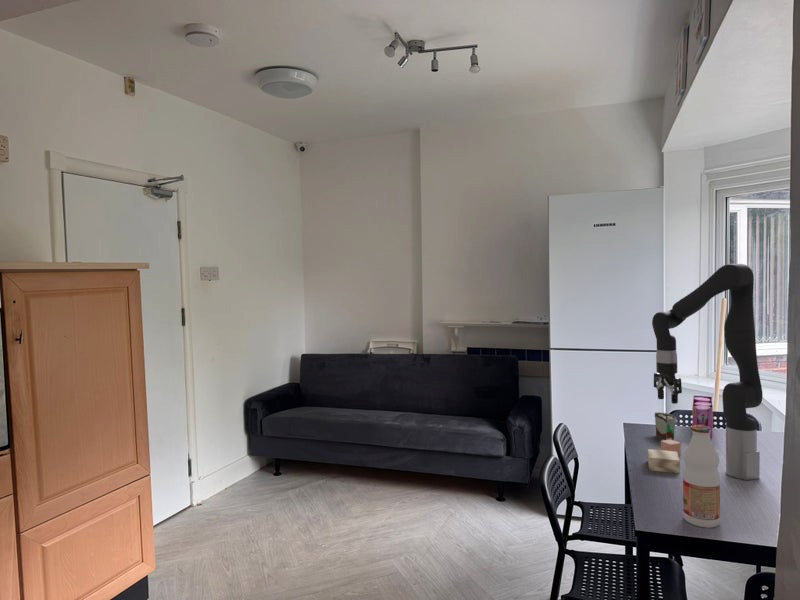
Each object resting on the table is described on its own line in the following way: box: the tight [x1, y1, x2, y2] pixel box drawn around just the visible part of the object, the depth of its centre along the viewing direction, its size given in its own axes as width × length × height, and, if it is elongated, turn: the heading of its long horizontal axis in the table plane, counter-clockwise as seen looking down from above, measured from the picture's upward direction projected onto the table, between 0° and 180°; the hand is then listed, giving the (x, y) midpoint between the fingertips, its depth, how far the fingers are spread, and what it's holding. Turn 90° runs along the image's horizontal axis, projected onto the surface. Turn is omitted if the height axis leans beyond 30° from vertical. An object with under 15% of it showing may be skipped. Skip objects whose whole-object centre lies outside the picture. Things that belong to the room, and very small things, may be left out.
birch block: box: [647, 448, 681, 474], centre depth 198 cm, size 10×10×5 cm
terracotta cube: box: [660, 439, 682, 457], centre depth 211 cm, size 5×5×5 cm
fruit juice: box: [682, 425, 721, 529], centre depth 154 cm, size 9×9×28 cm
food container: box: [653, 412, 678, 441], centre depth 230 cm, size 12×6×10 cm, turn 179°
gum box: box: [691, 395, 714, 439], centre depth 239 cm, size 24×8×14 cm, turn 150°
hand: (667, 401), depth 212 cm, fingers open, 8 cm apart
